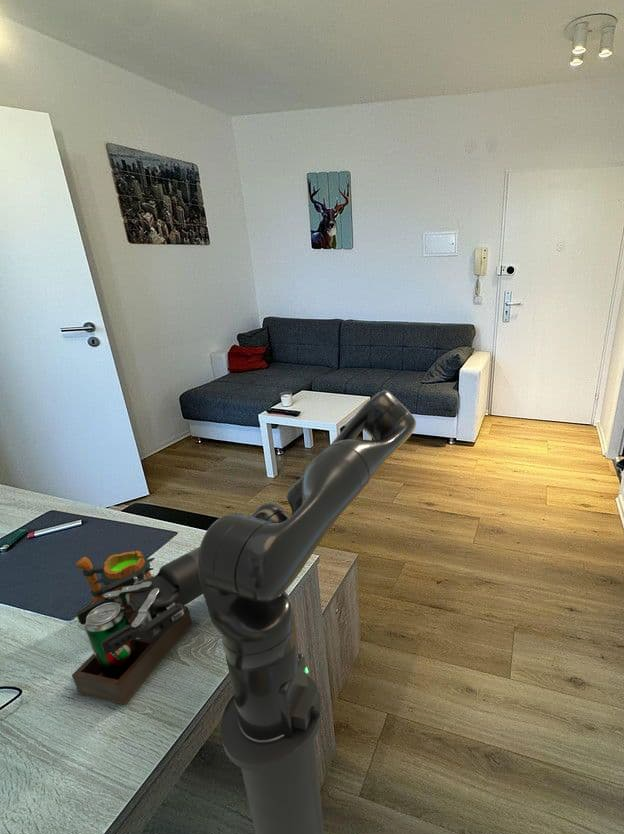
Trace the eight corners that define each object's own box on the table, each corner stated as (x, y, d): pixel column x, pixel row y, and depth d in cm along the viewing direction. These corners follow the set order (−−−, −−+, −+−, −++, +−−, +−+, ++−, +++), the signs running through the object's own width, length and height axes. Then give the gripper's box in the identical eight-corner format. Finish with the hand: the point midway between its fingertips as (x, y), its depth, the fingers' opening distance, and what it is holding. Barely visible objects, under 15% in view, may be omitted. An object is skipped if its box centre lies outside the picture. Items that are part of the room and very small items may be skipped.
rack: (192, 623, 78) (188, 606, 76) (125, 704, 64) (118, 685, 62) (153, 616, 79) (148, 599, 78) (79, 694, 65) (71, 675, 64)
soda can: (109, 661, 70) (89, 604, 65) (144, 653, 71) (127, 597, 67) (99, 689, 65) (77, 630, 61) (136, 680, 67) (118, 622, 62)
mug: (176, 585, 86) (164, 537, 81) (152, 627, 76) (137, 575, 72) (107, 588, 85) (92, 540, 80) (75, 631, 75) (55, 578, 71)
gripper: (223, 608, 72) (117, 678, 60) (179, 572, 80) (77, 628, 68) (216, 572, 69) (104, 638, 57) (171, 539, 77) (64, 591, 65)
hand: (90, 633), depth 63 cm, fingers open, 8 cm apart
